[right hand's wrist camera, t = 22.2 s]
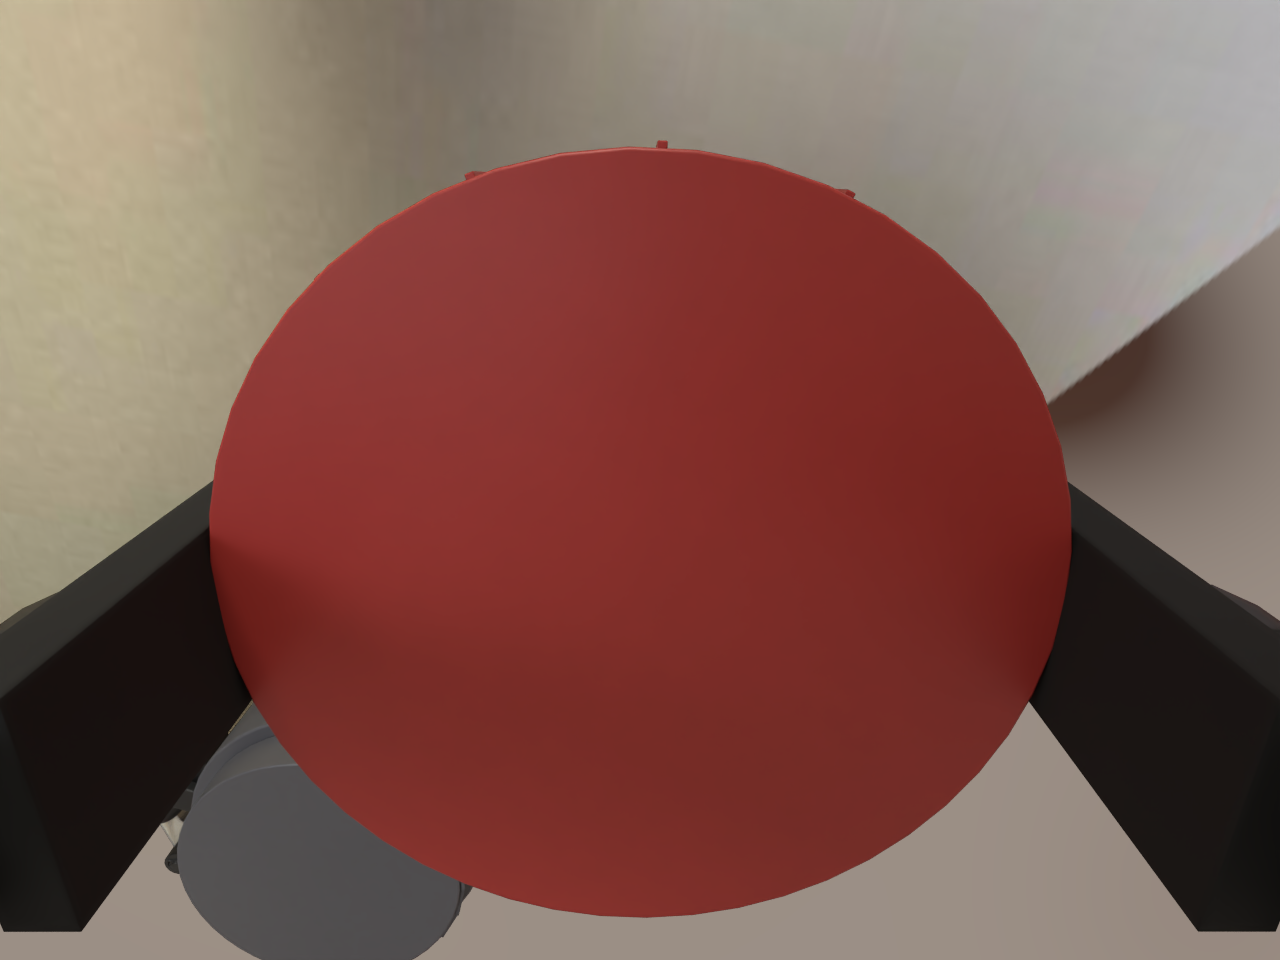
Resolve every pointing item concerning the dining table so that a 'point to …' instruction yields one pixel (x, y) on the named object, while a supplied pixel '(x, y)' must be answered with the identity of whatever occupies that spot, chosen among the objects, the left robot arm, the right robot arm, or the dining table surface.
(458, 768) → the lid
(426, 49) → the dining table surface
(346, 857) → the jar
